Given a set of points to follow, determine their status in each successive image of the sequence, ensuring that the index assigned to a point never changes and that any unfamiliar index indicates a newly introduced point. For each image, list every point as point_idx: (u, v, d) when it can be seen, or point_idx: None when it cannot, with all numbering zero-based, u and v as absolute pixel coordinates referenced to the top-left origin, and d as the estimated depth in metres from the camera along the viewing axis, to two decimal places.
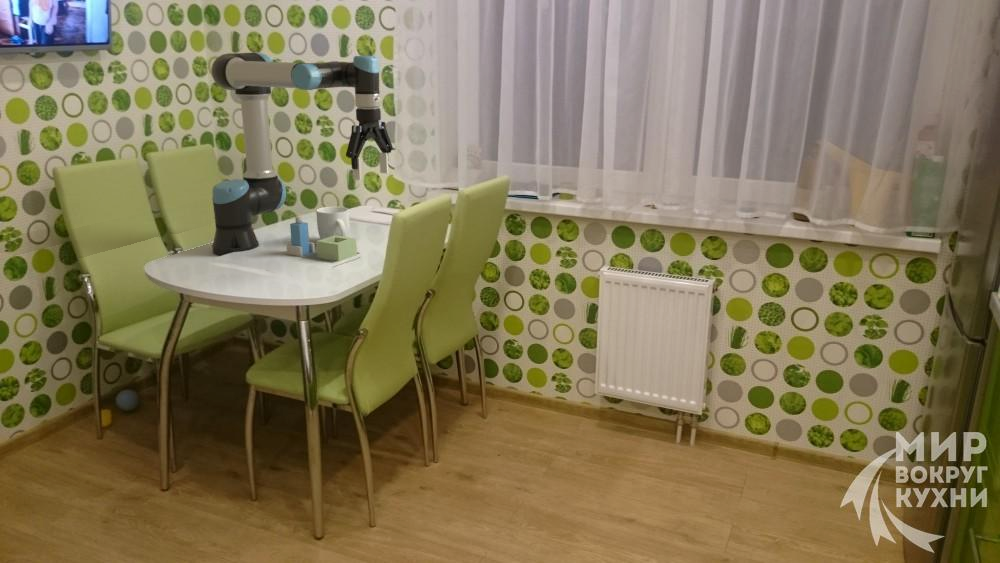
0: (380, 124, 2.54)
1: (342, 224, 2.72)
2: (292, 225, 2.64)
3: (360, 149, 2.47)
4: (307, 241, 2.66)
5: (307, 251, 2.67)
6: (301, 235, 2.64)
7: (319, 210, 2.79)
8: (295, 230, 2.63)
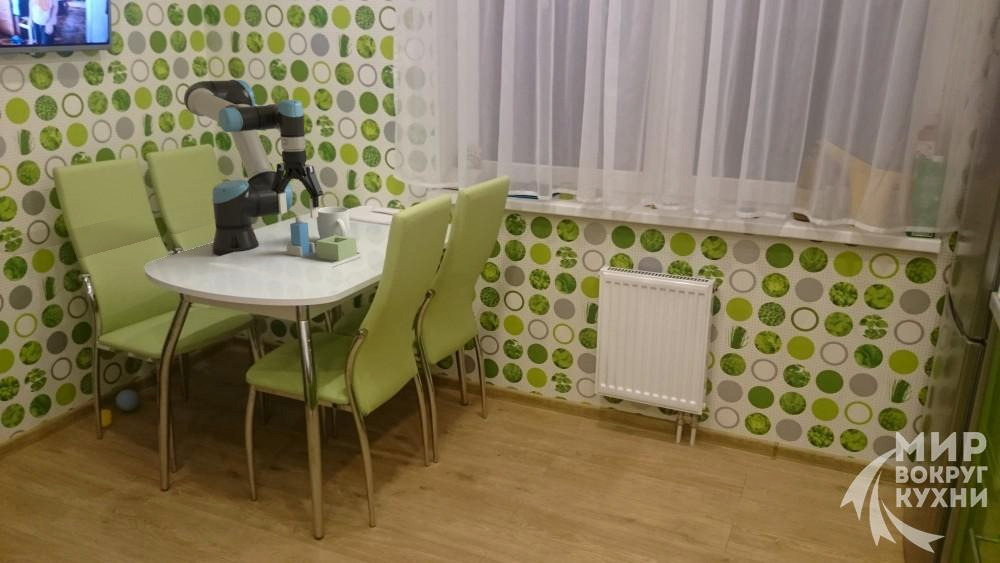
0: None
1: (342, 224, 2.72)
2: (292, 225, 2.64)
3: (280, 186, 2.63)
4: (307, 241, 2.66)
5: (307, 251, 2.67)
6: (301, 235, 2.64)
7: (319, 210, 2.79)
8: (295, 230, 2.63)
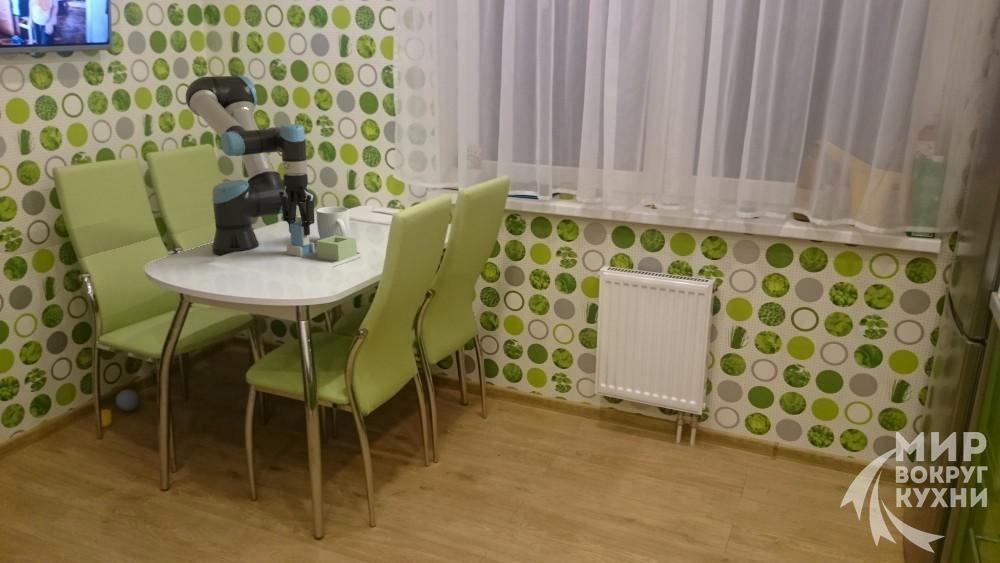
0: (307, 195, 2.59)
1: (342, 224, 2.72)
2: (292, 225, 2.64)
3: (289, 214, 2.64)
4: None
5: (307, 251, 2.67)
6: None
7: (319, 210, 2.79)
8: (295, 230, 2.63)
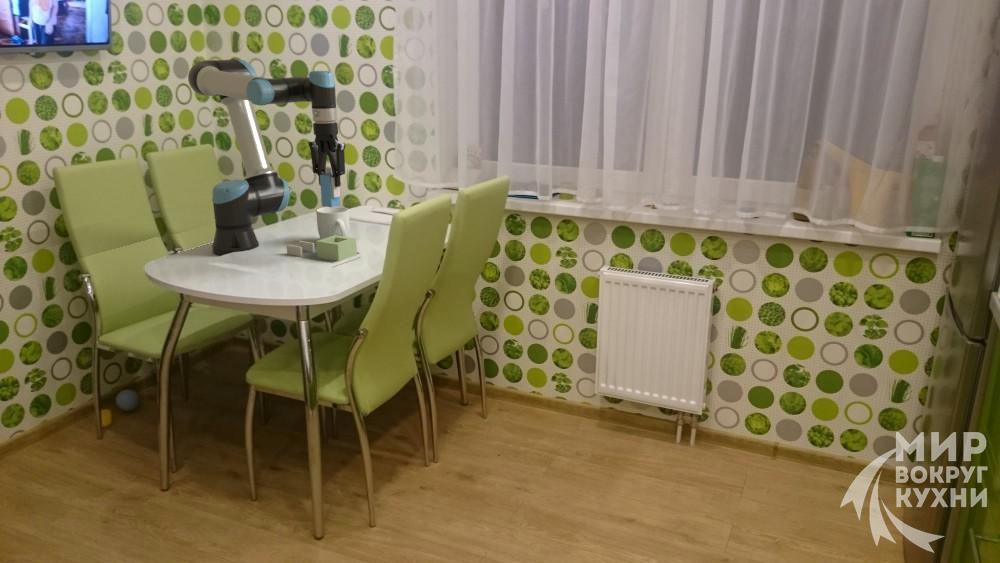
0: (337, 144, 2.50)
1: (342, 224, 2.72)
2: (321, 176, 2.55)
3: (319, 165, 2.55)
4: None
5: (337, 204, 2.58)
6: None
7: (319, 210, 2.79)
8: (325, 181, 2.54)
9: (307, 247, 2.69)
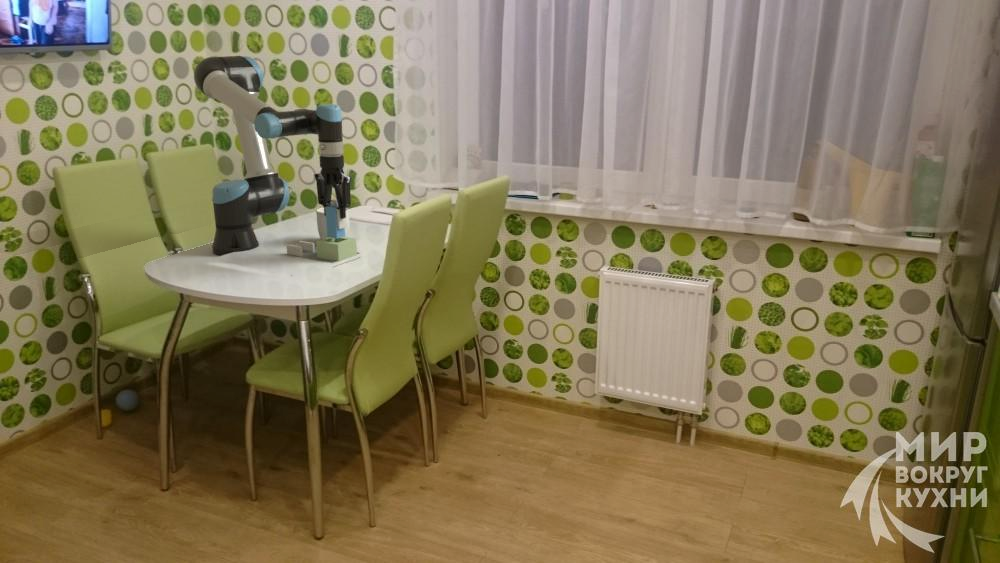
0: (344, 177, 2.53)
1: None
2: (327, 208, 2.58)
3: (324, 197, 2.58)
4: None
5: (342, 235, 2.61)
6: None
7: (319, 210, 2.79)
8: (331, 213, 2.58)
9: (307, 247, 2.69)
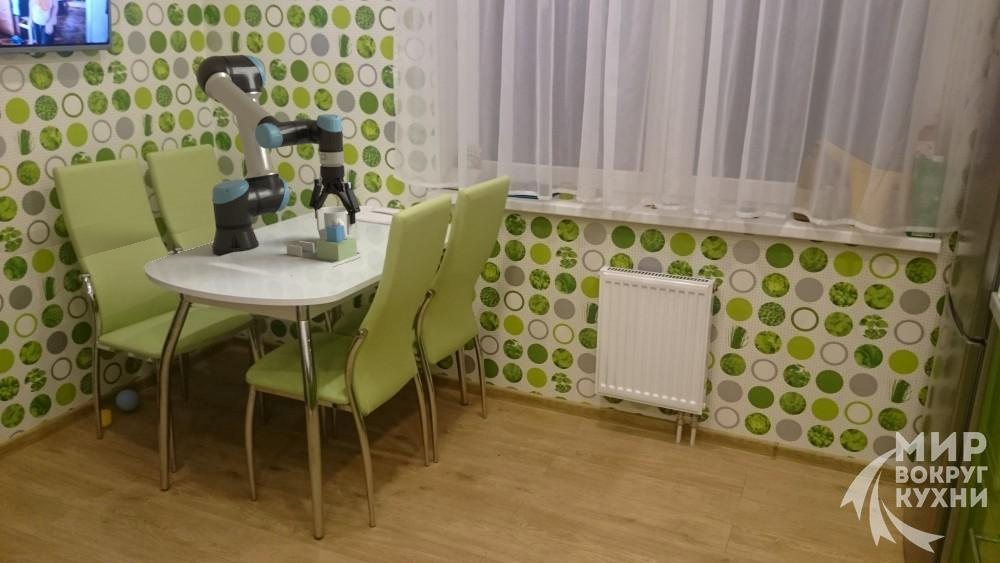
0: None
1: (342, 224, 2.72)
2: (328, 228, 2.60)
3: (318, 201, 2.60)
4: None
5: None
6: (338, 238, 2.60)
7: None
8: (332, 233, 2.60)
9: (307, 247, 2.69)
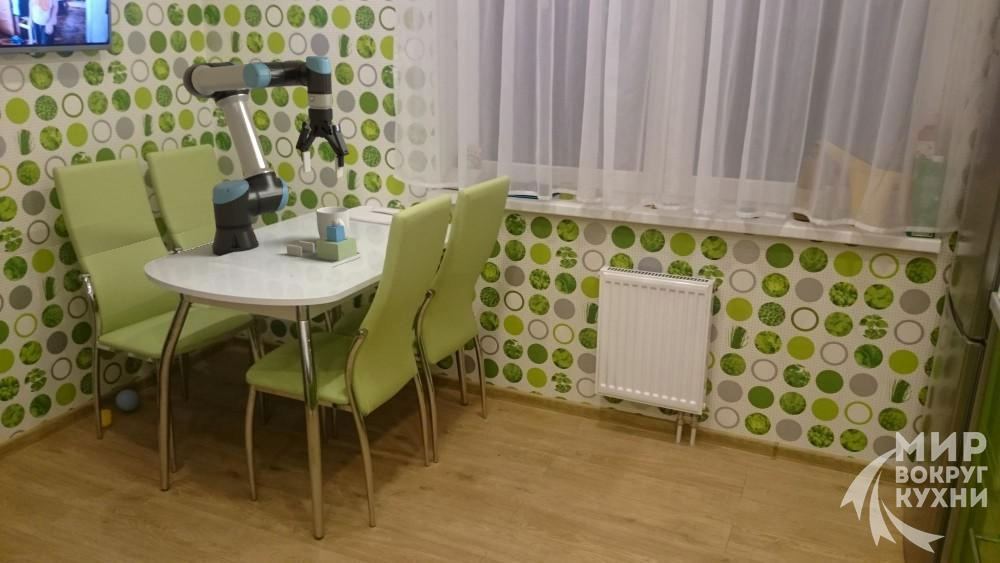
0: None
1: (342, 224, 2.72)
2: (328, 228, 2.60)
3: (304, 144, 2.59)
4: None
5: None
6: (338, 238, 2.60)
7: (319, 210, 2.79)
8: (332, 233, 2.60)
9: (307, 247, 2.69)
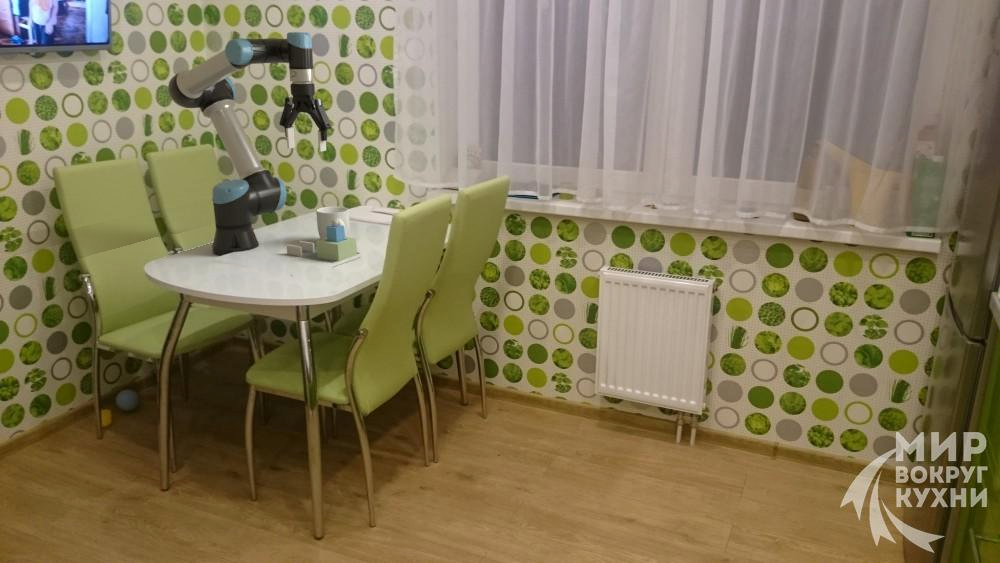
0: None
1: (342, 224, 2.72)
2: (328, 228, 2.60)
3: (288, 120, 2.63)
4: None
5: None
6: (338, 238, 2.60)
7: (319, 210, 2.79)
8: (332, 233, 2.60)
9: (307, 247, 2.69)
